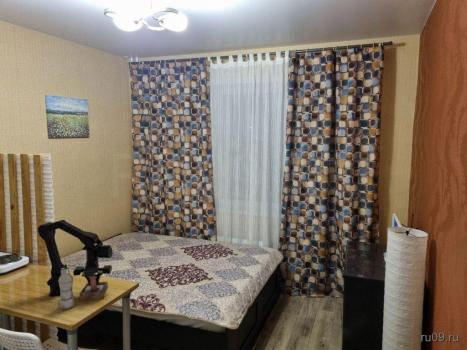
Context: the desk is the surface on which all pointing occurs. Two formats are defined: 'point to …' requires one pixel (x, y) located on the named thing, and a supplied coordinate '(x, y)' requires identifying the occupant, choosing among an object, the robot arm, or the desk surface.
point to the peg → (93, 283)
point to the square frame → (89, 295)
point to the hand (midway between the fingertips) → (93, 285)
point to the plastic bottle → (66, 289)
